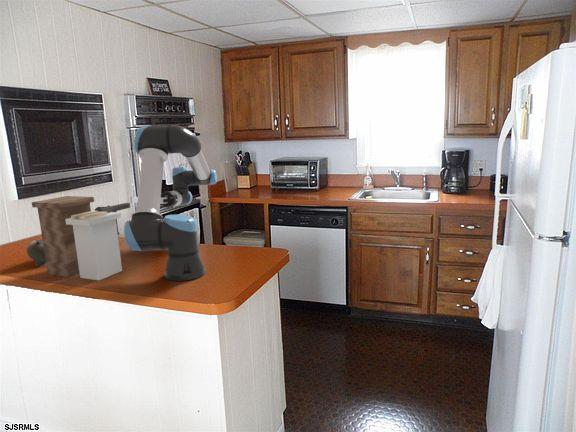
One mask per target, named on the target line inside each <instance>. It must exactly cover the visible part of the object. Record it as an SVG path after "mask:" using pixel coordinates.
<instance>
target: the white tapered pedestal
mask: <svg viewBox="0 0 576 432" xmlns="http://www.w3.org/2000/svg"><path fill="white" fill-rule="evenodd" d="M121 218H122V212H118V211H117V212H110V213H107V215H104V216H100V217H96V218H92V219H88V220H81V219H71V218H69V219H65V220H66V224H68V225H73V231H74V238H75V245H76V252H77V258H78V265H79V272H80V274H79V277H80V279H86V280H92V281H100V280H101V281H102V280H103V279H106V278H108V277H110V276H113V275H115V274H118V273H120V272H123V267H122V266H123V265H122V257H121V249H120V242H119V235H118V233H117V225H118V224H117V225H116V219H117V220H118V219H121Z"/></svg>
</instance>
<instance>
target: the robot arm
mask: <svg viewBox="0 0 576 432" xmlns="http://www.w3.org/2000/svg"><path fill="white" fill-rule="evenodd" d="M133 143H134V150H135V153H136V154H138V157H139V158H140V159H141V163H140V164H141V165H140V174H139V175H140V176H139V184H138V186H139V187H138V192H137V193H138V194H137V196H131V197H130V204H136V210H135V211H134V212H133V213H132V214H131V219H130V220H127V221H125V223H124V228H123V230H124V234H123V235H124V238H125V242H126V245H127V246H128V248H129V249H130V250H131V251H134V252H135V251H136V252H138V251H139V252H145V251H166V252H167V261H166V265H165V271H164V273H165V274H164V276H165V277H164V278H165V279H167V280H169V281H174V282H184V281H190V280H195V279H198V278H200V277H203V276H204V275H205V273H206V267H205V264H204V263H203V259H202V257H201V255H200V252H199V237H198V228H197V222H196V219H195V218H194V217H193V216H191V215H185V214H168V215H165V216H164V217H163V215H161V213H160V212H161V211H160V210H161V209H160V208H161V205H162V206H163V207H165V208H170V207H173V209H174V208H176V207H183V206H188V205H190V204H191V203H192V202H193V195H192V193H191V191H189V187H190V186H211V185H216V184H217V181H218V176H217V170H215V169H211V168H210V167H209V165H208V163H207V161H206V158H205V156H204V154H203V151H202V143H201V142H200V140H199V137H197V135H195V134H194V133H193V132H192V131H191V130H190V129H187V128H185V127H184V126H181V125H177V124H172V125H157V126H156V125H155V126H152V125H147V126H141V127H139V128H138V129H137V131H136V132H135V135H134V142H133ZM169 154H170V155H171V154H181V156H183V157H184V158H186V161H187V163H188V165H189V166H190V169H191V170H188V167H186V166H175V167H173V168H172V170H171V171H172V175H171V179H172V190H171V191H169V190H168V191H167V190H166V191H163V192H162V184H163V174H164V173H163V172H164V164H165V163H164V162H166V161H167V160H168V157H169Z"/></svg>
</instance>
